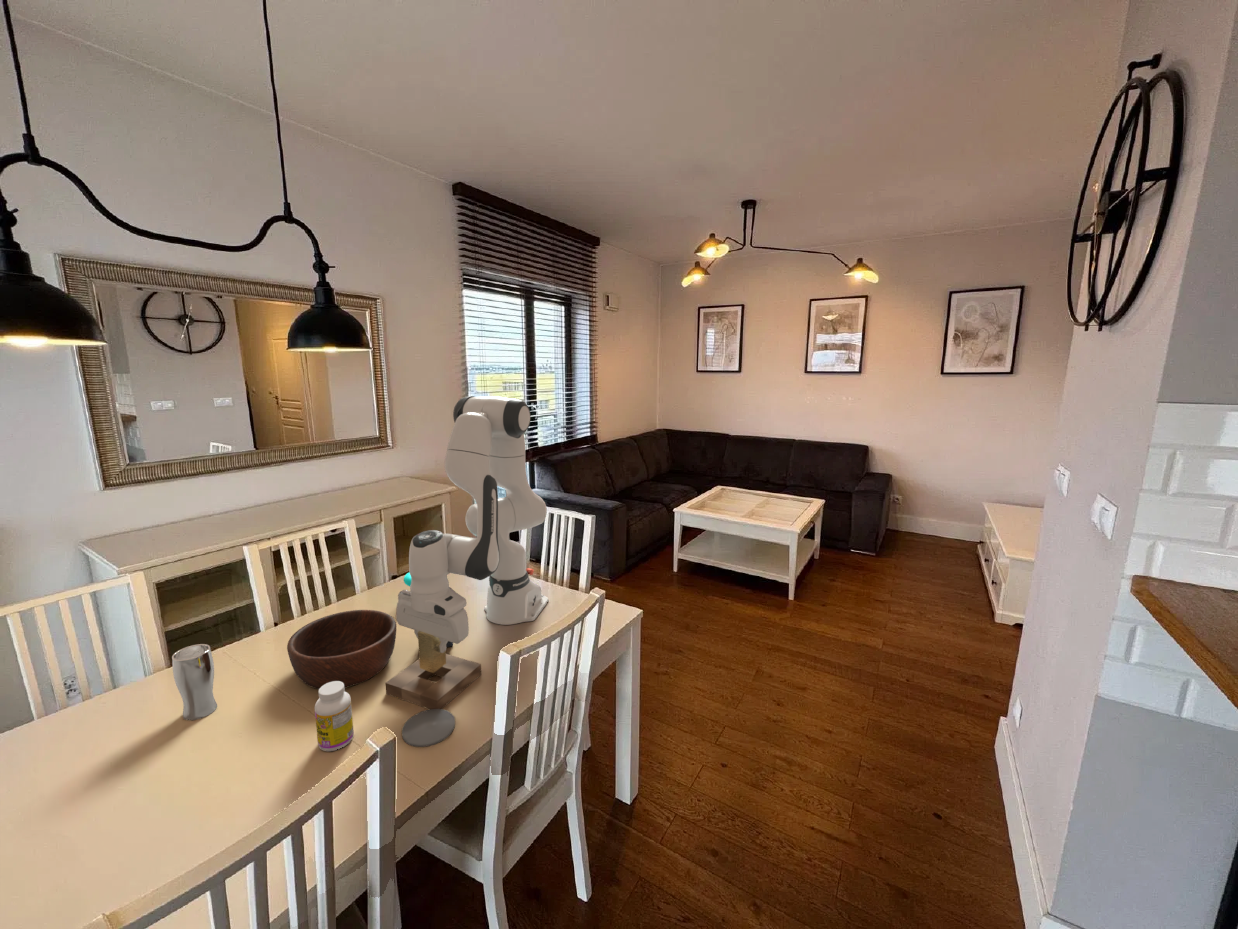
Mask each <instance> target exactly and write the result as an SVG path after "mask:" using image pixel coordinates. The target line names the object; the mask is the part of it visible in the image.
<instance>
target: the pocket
mask: <svg viewBox="0 0 1238 929" xmlns="http://www.w3.org/2000/svg"><path fill="white" fill-rule="evenodd" d="M481 675H482V664H481V663H478V662H475V661H473V660H468V659H465V658H462V657H459V656H455V655H452V654H449V653H446V664H445V665H443V666H442V667H441V668H440V669H438V670H437V671H436V672H434V673H432V672H429V671H426V670H423V669H421V668H420V662H419V659H417V660H416V661H414V662H413V663H412V664H410V665H409V666H407V667H406V668H404V669H403V670H401V671H400V672H399V673H397V674H395V675H394V676H393V677H391V678H390V679H388V680H387V681H386V682H384V683H385V685H384V686H385V694H386V695H388V696H391V697H393V698H398V699H399V700H403V701H406V702H408V703H411V704H415V705H416V706H419V707H423V708H424V709H427V710H429V709H443V708H445V707H446V706H447V705H448V704H449V703H450V702H452V700H453V699H455V698H456V697H458V695H459V694H461V693H462V692H463V691H464V690H465V689H466V688H468V687H469V686H470V685H471V684H472V683H473V682H474V681H476V680H477V679H478V678H479V677H480V676H481ZM433 676H438V677H440V679H438V680H437V681H432V680H429V679H431V678H432V677H433Z"/></svg>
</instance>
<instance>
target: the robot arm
mask: <svg viewBox="0 0 1238 929" xmlns="http://www.w3.org/2000/svg"><path fill="white" fill-rule="evenodd" d="M452 412H453V414H452V418H453V421H454V424H453V426H452V429H451V433H450V436H449V438H448V443H447V447H446V452H445V457H444V472H445V474H446V476H447V478H448V479H449V481H450V482H452V483H453V484H454V485H455V486H456V487H458V488H459V489H461V490H463V491H464V492H467V493H468V495H470V496H471V497H472V498H473V499H474V500H475V501H474V502H476V503H474V504H473V503H472V504H471V505H470V506H469V507H468V508H467V511H466V514H465V517H464V518H465V525H466V527H467V529H468V531H469V532H470V533H471V535H473V536H474V537H471V536H470V537H469V536H464V535H463V536H462V535H460V534H452V533H443V532H442V531H441V530H436V529H432V530H431V529H429V530H424V531H422V532H419V533H416V535H413V537H412V539H411V541H410V546H409V552H408V567H409V568H408V571H409V572H410V575H411V579H412V581H411V586H409V587H410V589H409V590H408V589H402V590H401V591H399V593H398V595H397V600H398V601H397V603H396V616H395V617H396V618H395V619H396V620H395V621H396V623H397V625H399V626H401V627H405V628H407V629H410V630H413V631H414V632H413V633H414V635H415V637H416V638H417V639H418V632H419V631H421V632H424V633H427V634H430V635H433V636H434V637H437V638H439V641H441V643H440V644H438V645H437V651H438V652H440V653H443V652H444V651H446V652H447V647H446V644H447V642H448V641H450V642H453V644H460V643H462V642H463V641H464V640H465V639H466V638H467V637H469V633H470V632H469V631H470V630H469V628H470V627H469V617H468V612H467V610H466V608H465V607H466V606H467V605H468V604H467V599H466V597H464V596H462V595H461V594H460V593H458V592H456V591H455V590H454V589H453V588H452V587H451V586H450V582H449V578H448V575H450V574H452V575H453V574H454V575H457V576H465V577H467V578H472V579H474V580H477V581H483V580H485V579H487V578H488V581H489V586H488V587H487V597H486V605H484V612H486V619H487V620H488V621H489V622H491V623H493V624H496V625H505V626H507V625H516V624H519V623H524V622H525V623H526V622H532V621H535V620H536V619H537V618H538V616H539V615H540V614H541V612H542V611H543V609H544V608H545V607H546V605H547V604H548V603H549V597H547V596H546V595H544V594H542V587H541V585H540V584H538V583H537V582H535V581H534V580H532V579H530V576H533V575H534V568H529V567H527V551H526V548H525V547H524V546H523V545H522V544H521V543H519V542H517V541H514V540H511V539H510V533H513V532H518V531H524V530H529V529H532V528H535V527H537V526H540V525H541V524H543V523H544V522H545V521H546V520H545V519H546V517H547V513H548V512H547V510H548V509H547V505H546V502H545V501H544V499H543V498H542V497H541V496H540V495H538V494H537V493H535V492H534V490H533V489H532V488H531V486H530V484H529V481H528V477H527V469H526V468H527V467H526V463H527V462H526V440H525V433H526V432H527V431H528V429H529V427H530V424H531V415H532V414H531V411H530V407H529V406H528V404H527V403H526V402H525V401H524V400H521V399H518V398H515V397H512V398H509V397H504V396H503V397H502V396H497V395H496V396H495V395H491V396H474V395H472V396H471V395H470V396H469V395H468V396H464V397H461V398H460V399H459V400H458V401H457V402H456V404H455V406H454V407H453V411H452ZM498 487H499V488H502V489H504V490H505V493H506V494H505V495H506V496H504V497H499V490H498V489H499V488H498ZM409 572H408V573H409ZM529 575H530V576H529ZM547 602H548V603H547Z"/></svg>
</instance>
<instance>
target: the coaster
mask: <svg viewBox="0 0 1238 929" xmlns="http://www.w3.org/2000/svg"><path fill="white" fill-rule="evenodd" d="M455 727H456V718H455V716H454V715H453V713H452V712H451V711H449V710H446V709H443V708H442V709H426V710H423V711H420V712H418V713H417V712H416V714H414V715H413V716H410V717H409V719H407V720H406V722H405V723H404V724H403V725H402V728H401V729H402V730H401V737H402V740H403V742H405V743H406V744H407V745H409V746H411V747H415V748H425V747H430V746H434V745H437V744H439V743H442V741H445V740H446V739H447V738H448V737H449V736H450V735H452V733H453V731H454V729H455Z"/></svg>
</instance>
